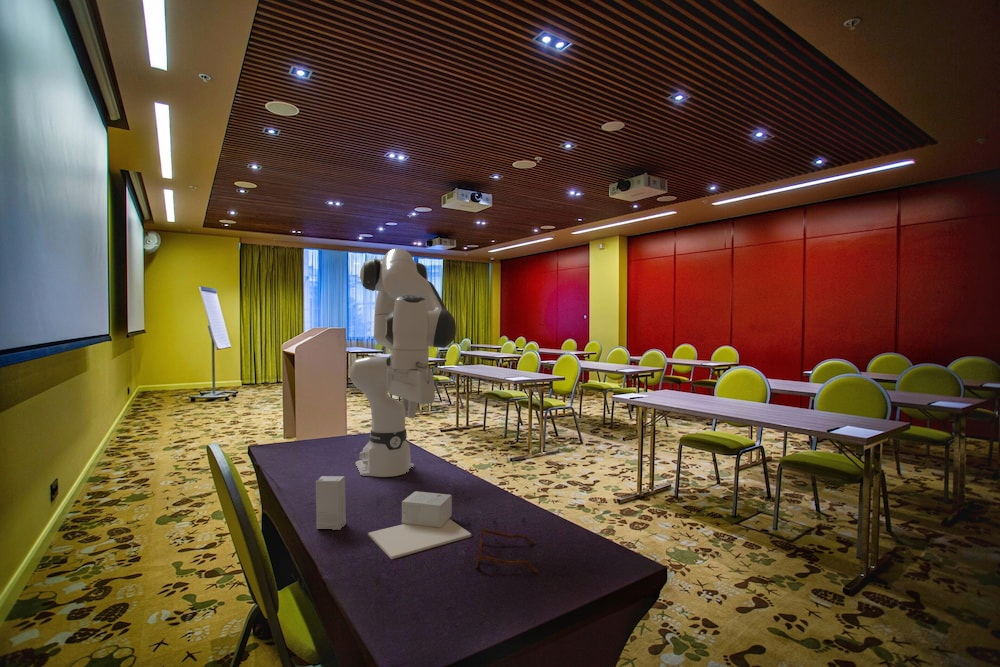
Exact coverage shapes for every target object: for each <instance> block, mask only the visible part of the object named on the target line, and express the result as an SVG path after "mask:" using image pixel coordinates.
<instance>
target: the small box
mask: <svg viewBox="0 0 1000 667" xmlns="http://www.w3.org/2000/svg"><path fill="white" fill-rule="evenodd" d="M452 504H453V495H452V494H449V493H447V494H446V493H438V492H436V493H435V492H426V491H417V490H416V491H414V492H412V493H411V494H410V495H408V496H407V497H406V498H404V500H402V501H401V524H412V525H421V526H429V527H438V528H441V527H442V526H443V524H444V523H445V522H446V521H447V520H448V519H450V518H451V517H452V515H453V514H452V513H453V505H452Z"/></svg>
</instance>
